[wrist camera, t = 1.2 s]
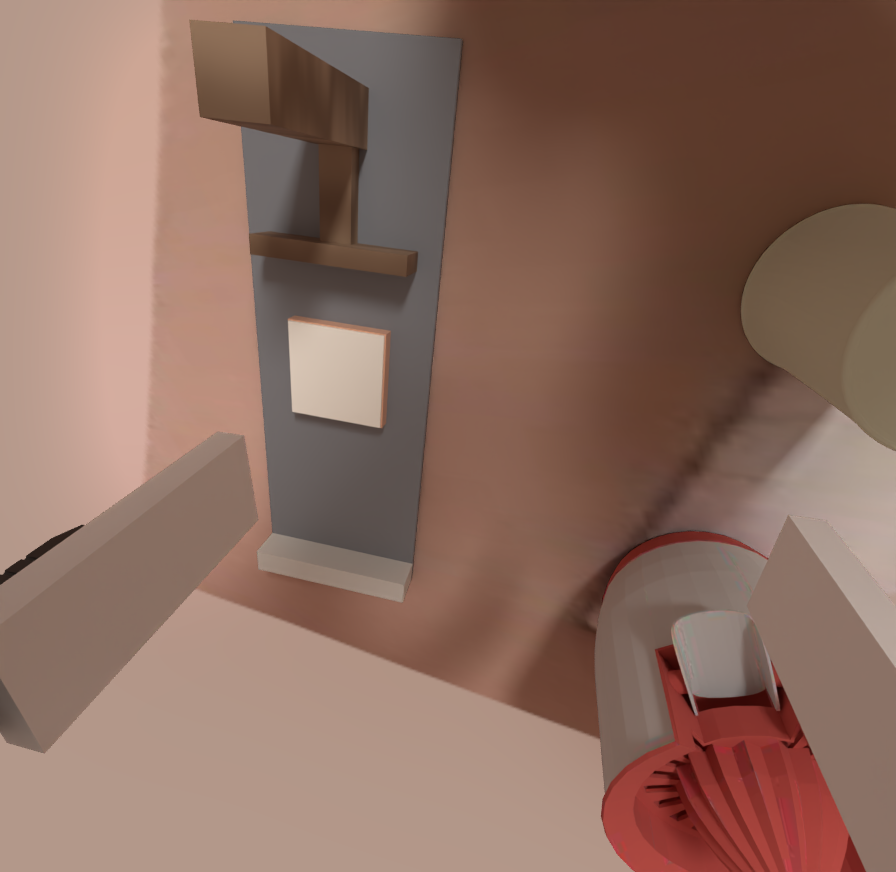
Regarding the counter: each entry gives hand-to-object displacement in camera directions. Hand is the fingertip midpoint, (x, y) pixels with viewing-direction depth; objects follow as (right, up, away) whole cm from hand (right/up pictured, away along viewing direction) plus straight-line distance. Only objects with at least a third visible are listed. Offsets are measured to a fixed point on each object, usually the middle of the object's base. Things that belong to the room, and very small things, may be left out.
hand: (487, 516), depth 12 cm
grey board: (-9, +7, +23) cm, 26 cm away
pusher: (-7, +18, +17) cm, 26 cm away
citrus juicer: (+17, -9, +26) cm, 32 cm away
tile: (-9, +7, +23) cm, 25 cm away
